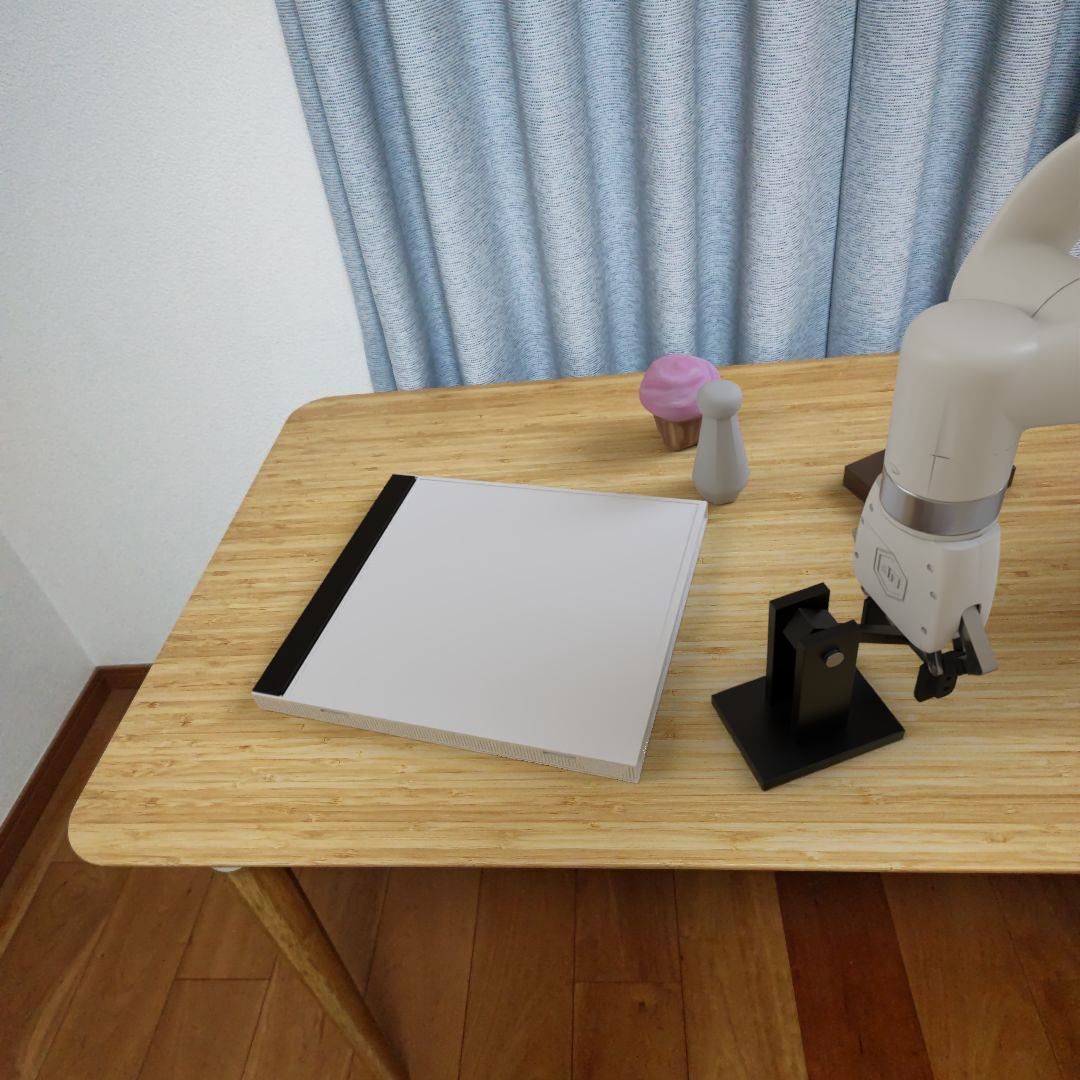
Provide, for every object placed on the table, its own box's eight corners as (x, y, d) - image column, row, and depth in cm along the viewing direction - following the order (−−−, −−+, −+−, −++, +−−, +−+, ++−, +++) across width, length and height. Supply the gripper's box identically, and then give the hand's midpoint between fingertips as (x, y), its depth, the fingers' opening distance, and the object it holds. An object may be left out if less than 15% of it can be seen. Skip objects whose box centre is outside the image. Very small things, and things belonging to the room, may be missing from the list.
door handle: (889, 625, 72) (905, 603, 71) (927, 670, 68) (945, 647, 67) (772, 618, 67) (788, 594, 65) (807, 667, 63) (824, 642, 62)
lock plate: (945, 440, 94) (949, 420, 93) (1011, 486, 88) (1017, 465, 86) (842, 484, 92) (844, 464, 90) (902, 535, 85) (906, 514, 84)
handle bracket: (840, 656, 76) (854, 548, 68) (903, 739, 70) (928, 630, 61) (711, 703, 75) (708, 598, 66) (763, 792, 68) (768, 688, 59)
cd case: (249, 692, 79) (393, 471, 100) (259, 708, 81) (399, 488, 102) (635, 766, 68) (707, 501, 89) (637, 783, 70) (707, 519, 91)
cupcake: (665, 471, 97) (660, 394, 91) (630, 431, 104) (623, 356, 97) (737, 444, 99) (738, 366, 92) (698, 406, 105) (696, 331, 98)
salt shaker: (757, 481, 94) (760, 376, 85) (737, 515, 91) (737, 410, 82) (705, 469, 97) (702, 366, 88) (683, 502, 93) (678, 398, 85)
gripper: (820, 433, 65) (805, 602, 77) (977, 591, 52) (930, 763, 64) (912, 404, 66) (883, 574, 78) (1088, 552, 53) (1022, 728, 65)
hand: (905, 658), depth 71 cm, fingers open, 6 cm apart
